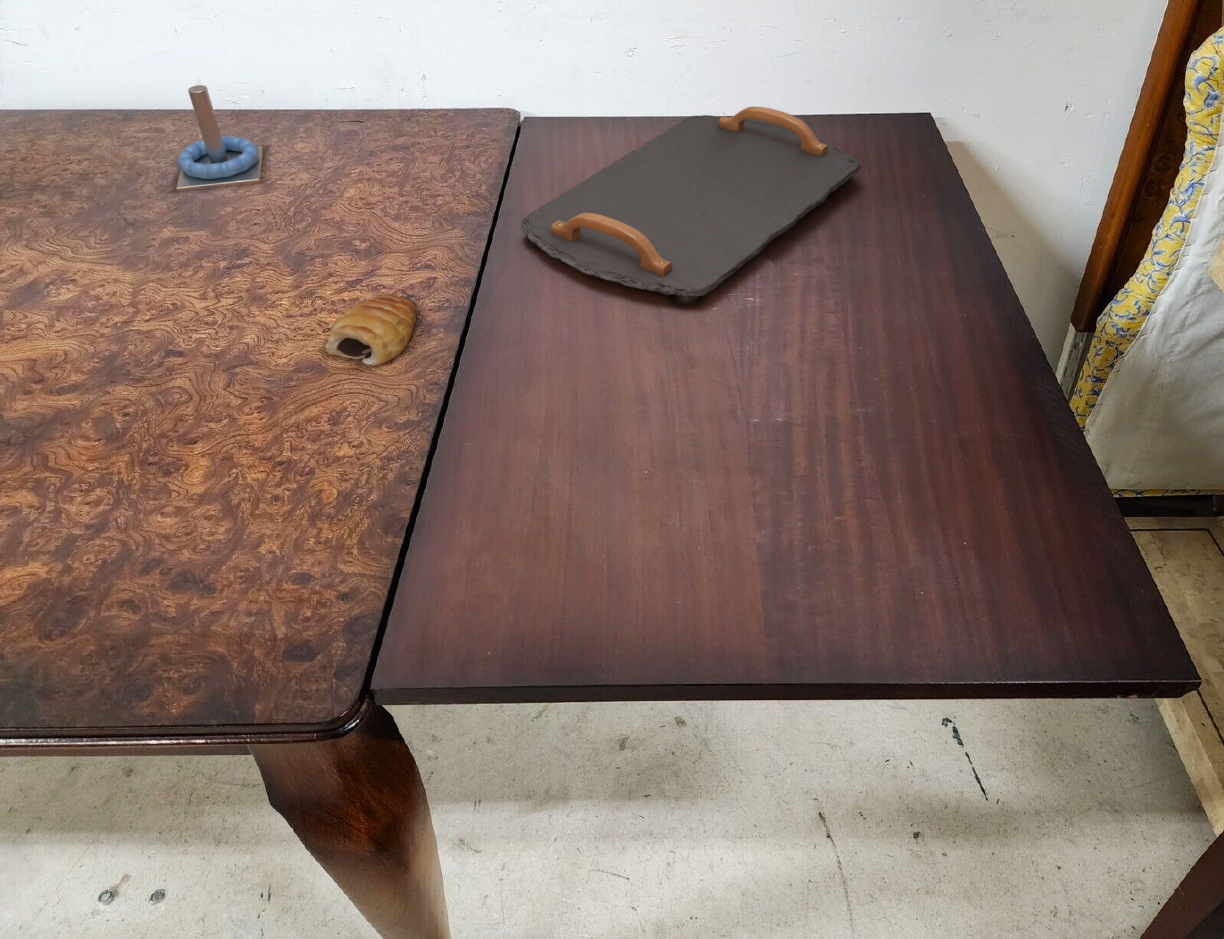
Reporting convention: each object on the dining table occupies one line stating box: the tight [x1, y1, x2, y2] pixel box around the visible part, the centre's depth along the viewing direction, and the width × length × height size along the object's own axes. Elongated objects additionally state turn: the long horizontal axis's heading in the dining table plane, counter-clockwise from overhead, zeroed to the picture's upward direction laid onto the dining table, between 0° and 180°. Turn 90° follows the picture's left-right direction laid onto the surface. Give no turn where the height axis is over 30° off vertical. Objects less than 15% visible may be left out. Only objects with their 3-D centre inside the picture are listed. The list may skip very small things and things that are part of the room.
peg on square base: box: [176, 84, 264, 193], centre depth 110 cm, size 9×9×10 cm
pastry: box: [324, 293, 417, 366], centre depth 88 cm, size 9×7×4 cm
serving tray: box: [519, 106, 862, 307], centre depth 104 cm, size 39×23×6 cm, turn 143°
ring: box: [177, 135, 258, 179], centre depth 113 cm, size 9×9×2 cm
